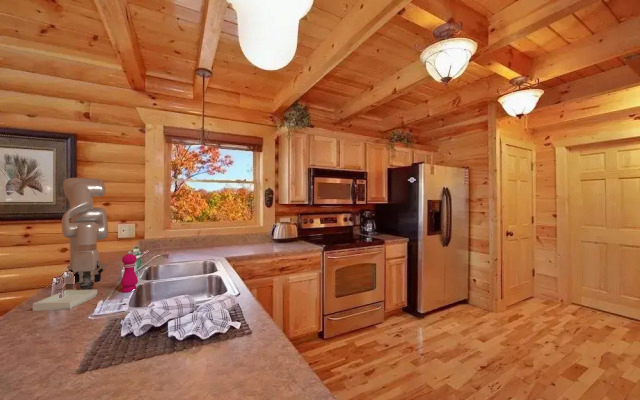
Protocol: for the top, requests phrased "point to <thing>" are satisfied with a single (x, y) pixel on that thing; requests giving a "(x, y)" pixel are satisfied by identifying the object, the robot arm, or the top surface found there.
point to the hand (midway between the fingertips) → (86, 282)
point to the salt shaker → (87, 281)
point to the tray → (65, 300)
